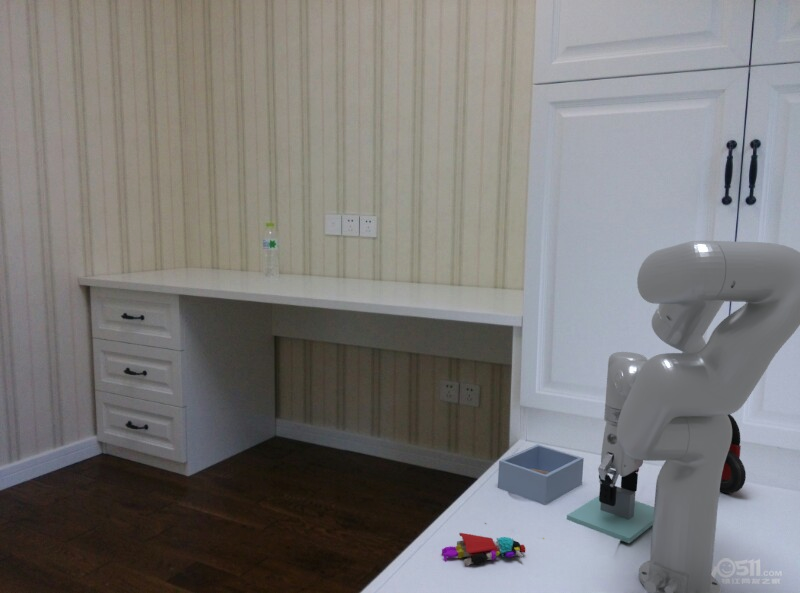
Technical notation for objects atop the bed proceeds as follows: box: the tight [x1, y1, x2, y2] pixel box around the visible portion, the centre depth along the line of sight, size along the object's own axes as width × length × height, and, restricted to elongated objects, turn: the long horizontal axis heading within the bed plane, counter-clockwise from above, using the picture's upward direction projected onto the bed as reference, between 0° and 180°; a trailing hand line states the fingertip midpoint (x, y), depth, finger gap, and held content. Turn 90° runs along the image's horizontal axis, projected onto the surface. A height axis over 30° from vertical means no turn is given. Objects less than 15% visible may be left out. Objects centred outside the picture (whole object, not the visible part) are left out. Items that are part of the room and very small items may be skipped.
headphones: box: [719, 414, 747, 494], centre depth 145 cm, size 18×10×20 cm, turn 114°
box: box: [497, 443, 585, 506], centre depth 146 cm, size 16×12×7 cm
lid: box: [566, 486, 654, 544], centre depth 132 cm, size 17×13×7 cm
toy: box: [441, 532, 526, 567], centre depth 117 cm, size 8×4×15 cm
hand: (618, 496), depth 132 cm, fingers open, 9 cm apart
